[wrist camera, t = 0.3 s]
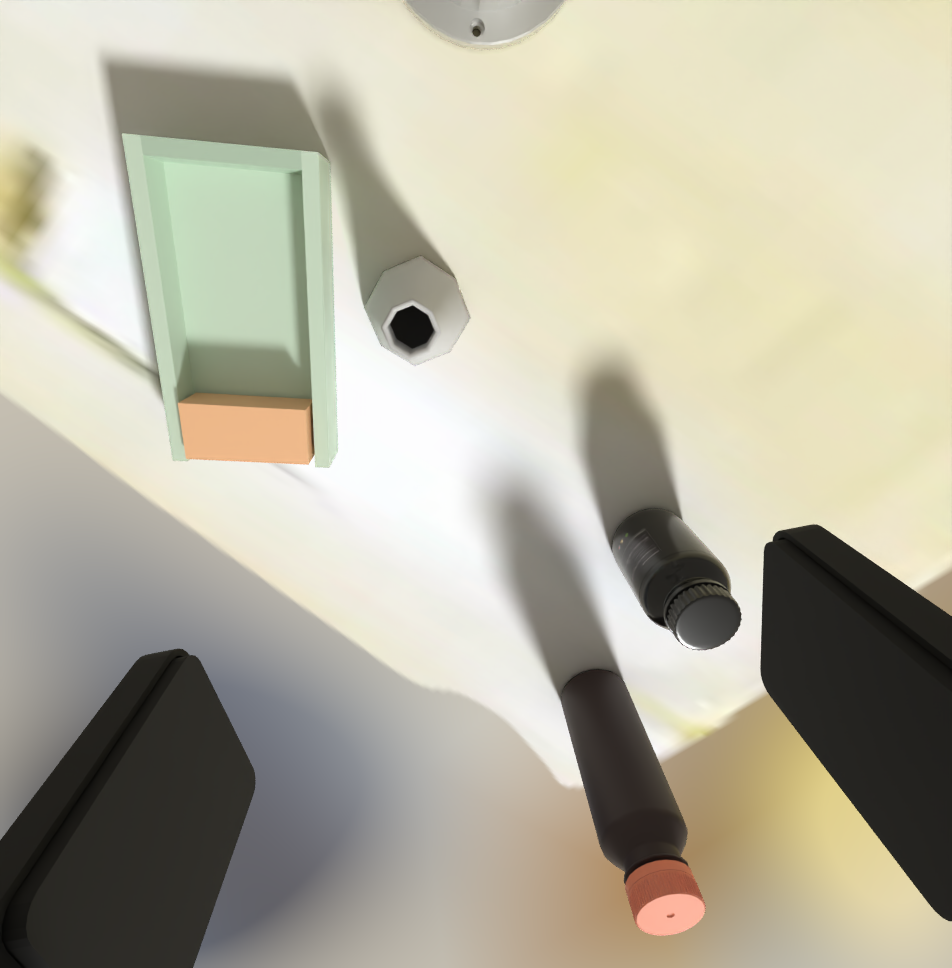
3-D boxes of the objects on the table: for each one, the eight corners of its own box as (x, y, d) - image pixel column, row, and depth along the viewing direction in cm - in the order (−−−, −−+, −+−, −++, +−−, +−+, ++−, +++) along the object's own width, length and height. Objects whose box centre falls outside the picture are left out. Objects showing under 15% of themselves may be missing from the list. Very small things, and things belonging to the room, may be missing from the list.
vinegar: (565, 723, 56) (626, 952, 38) (555, 675, 53) (616, 896, 35) (629, 710, 56) (721, 933, 38) (622, 660, 53) (718, 875, 35)
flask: (413, 381, 41) (406, 418, 32) (346, 305, 38) (317, 321, 29) (487, 319, 39) (501, 338, 30) (422, 235, 37) (416, 229, 28)
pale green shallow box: (153, 145, 34) (121, 133, 30) (330, 162, 35) (318, 152, 31) (194, 443, 42) (172, 460, 38) (338, 450, 43) (329, 467, 39)
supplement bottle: (698, 518, 47) (777, 598, 36) (662, 580, 50) (726, 673, 39) (630, 495, 46) (690, 571, 35) (596, 560, 48) (643, 650, 37)
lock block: (196, 392, 39) (177, 403, 36) (314, 399, 39) (305, 410, 37) (203, 444, 40) (185, 458, 37) (317, 450, 41) (308, 464, 38)
